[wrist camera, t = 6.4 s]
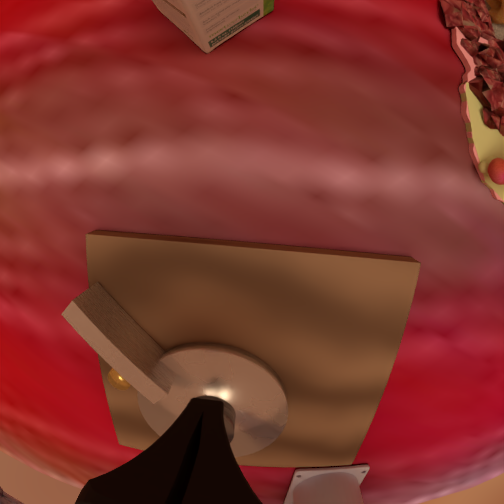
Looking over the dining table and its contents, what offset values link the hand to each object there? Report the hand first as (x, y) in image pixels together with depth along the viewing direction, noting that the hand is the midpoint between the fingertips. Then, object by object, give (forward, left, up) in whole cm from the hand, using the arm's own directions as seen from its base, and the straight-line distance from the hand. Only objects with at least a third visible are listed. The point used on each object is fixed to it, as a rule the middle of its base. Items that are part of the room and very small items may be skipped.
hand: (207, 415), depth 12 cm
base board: (-4, -1, -9) cm, 10 cm away
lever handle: (-4, +3, -8) cm, 9 cm away
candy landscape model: (+23, -26, -10) cm, 36 cm away
